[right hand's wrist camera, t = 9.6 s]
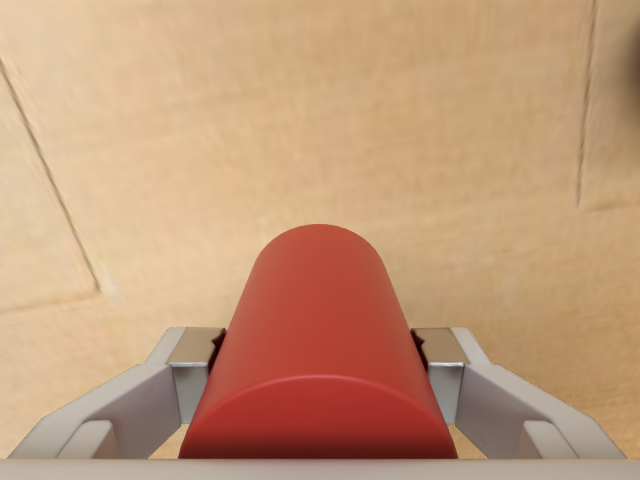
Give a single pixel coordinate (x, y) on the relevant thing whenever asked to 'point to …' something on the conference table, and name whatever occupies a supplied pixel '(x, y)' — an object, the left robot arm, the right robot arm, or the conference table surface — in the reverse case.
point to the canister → (318, 362)
